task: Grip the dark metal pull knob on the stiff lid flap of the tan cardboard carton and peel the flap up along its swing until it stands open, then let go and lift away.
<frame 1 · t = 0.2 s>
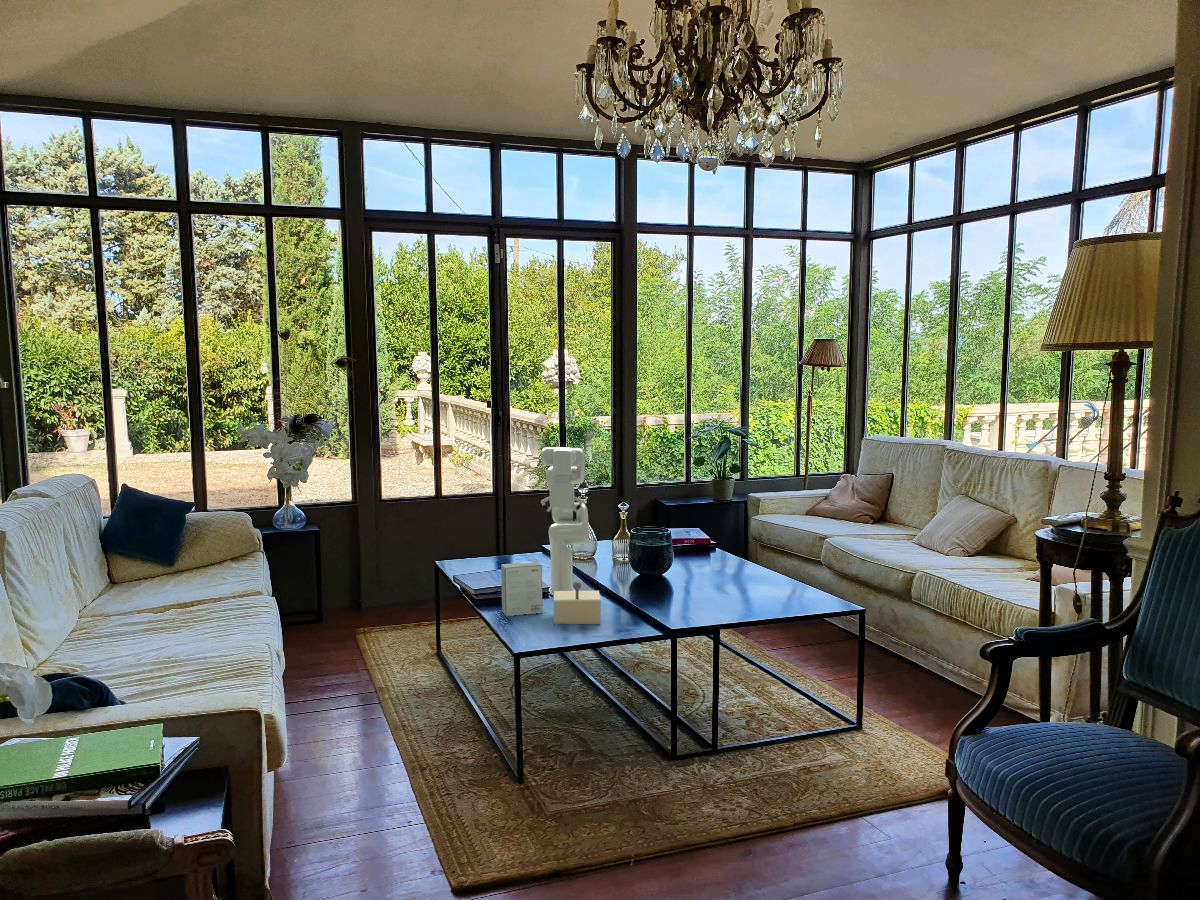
hand: (562, 521, 346), 37 cm above the table, tool pointing down, fingers open, 9 cm apart
carton flap: (576, 587, 332), point 13 cm above the table, hinge at 0.0°
hard drive box: (522, 613, 343), on the table
carton: (576, 619, 333), on the table
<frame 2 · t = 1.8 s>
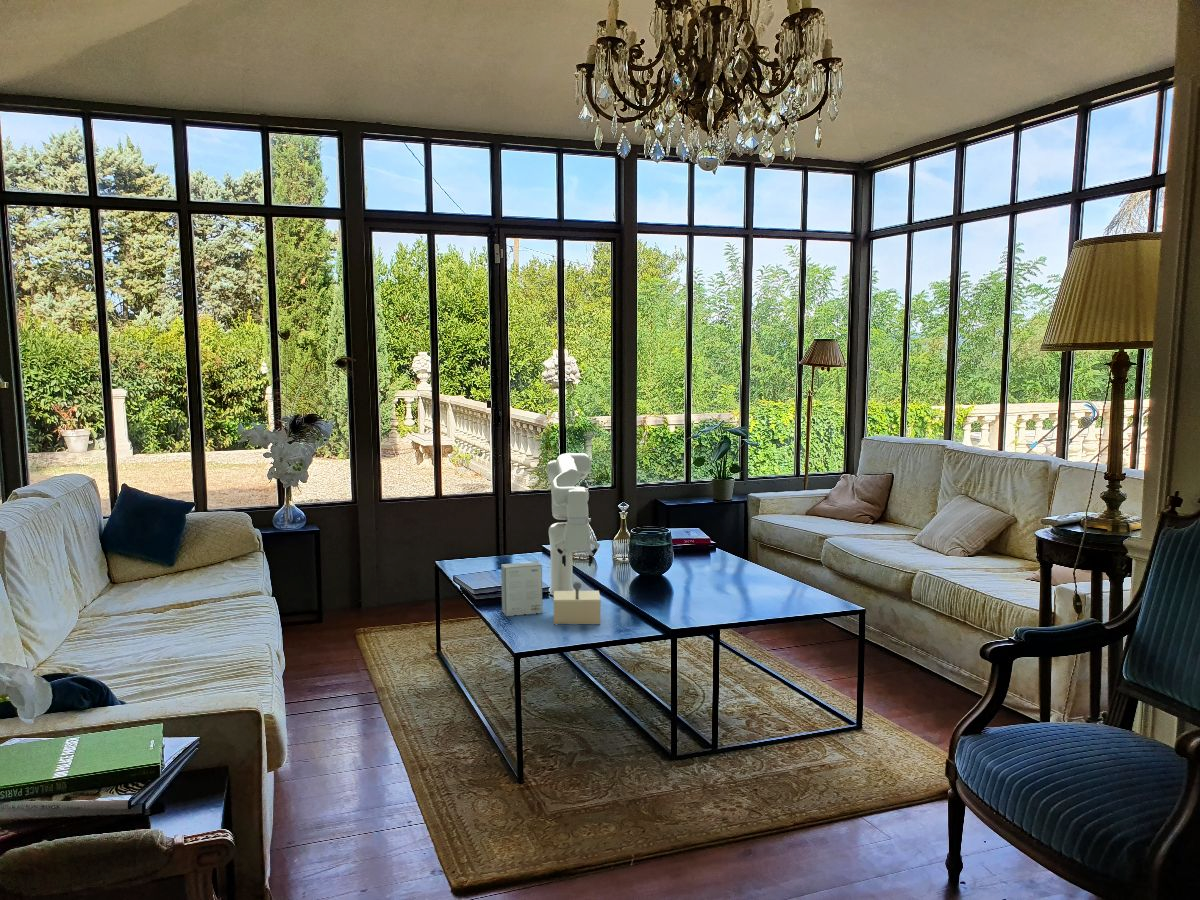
hand: (577, 565, 325), 23 cm above the table, tool pointing down, fingers open, 9 cm apart
nothing on the table moved.
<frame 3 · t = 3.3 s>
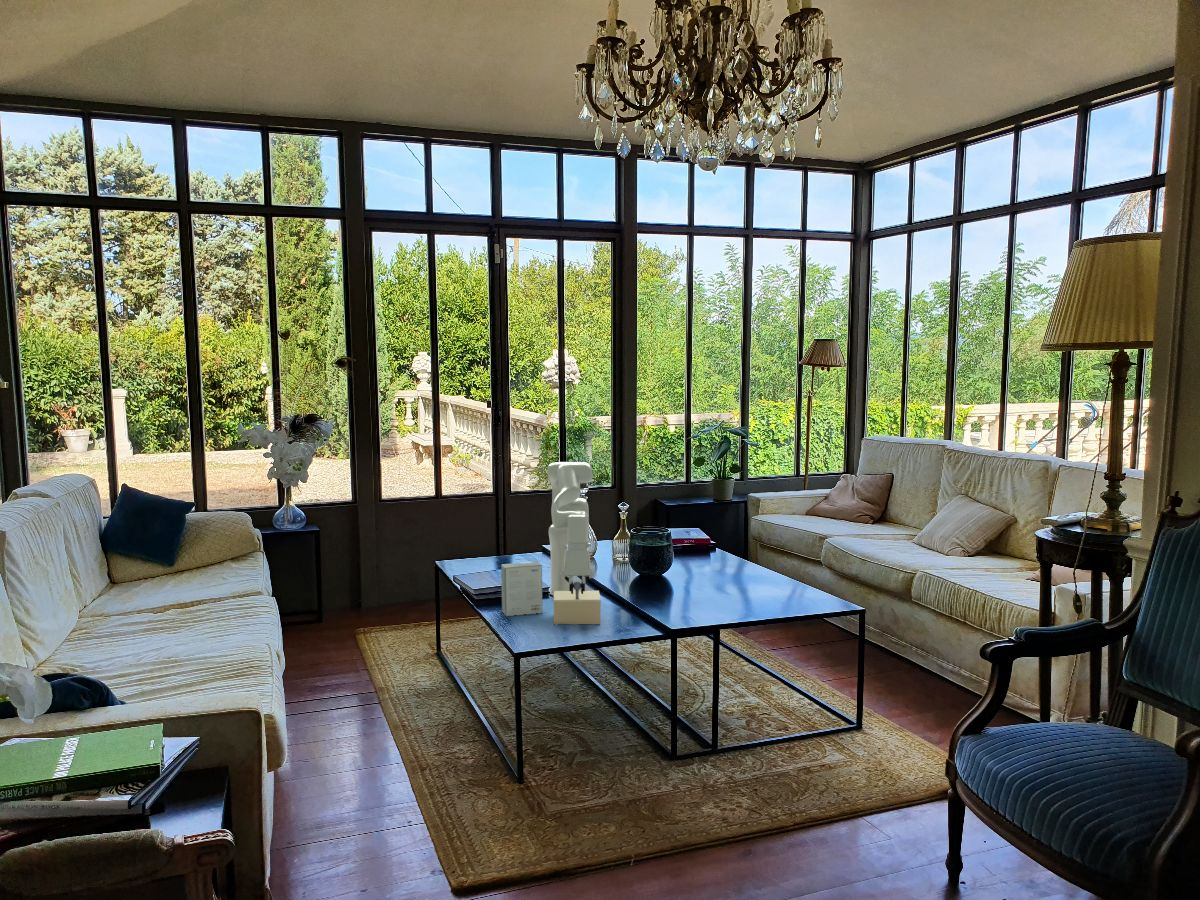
hand: (577, 592, 326), 12 cm above the table, tool pointing down, fingers closed on carton flap, 3 cm apart
carton flap: (576, 587, 332), point 13 cm above the table, hinge at 0.0°, touching gripper
everything else where it was.
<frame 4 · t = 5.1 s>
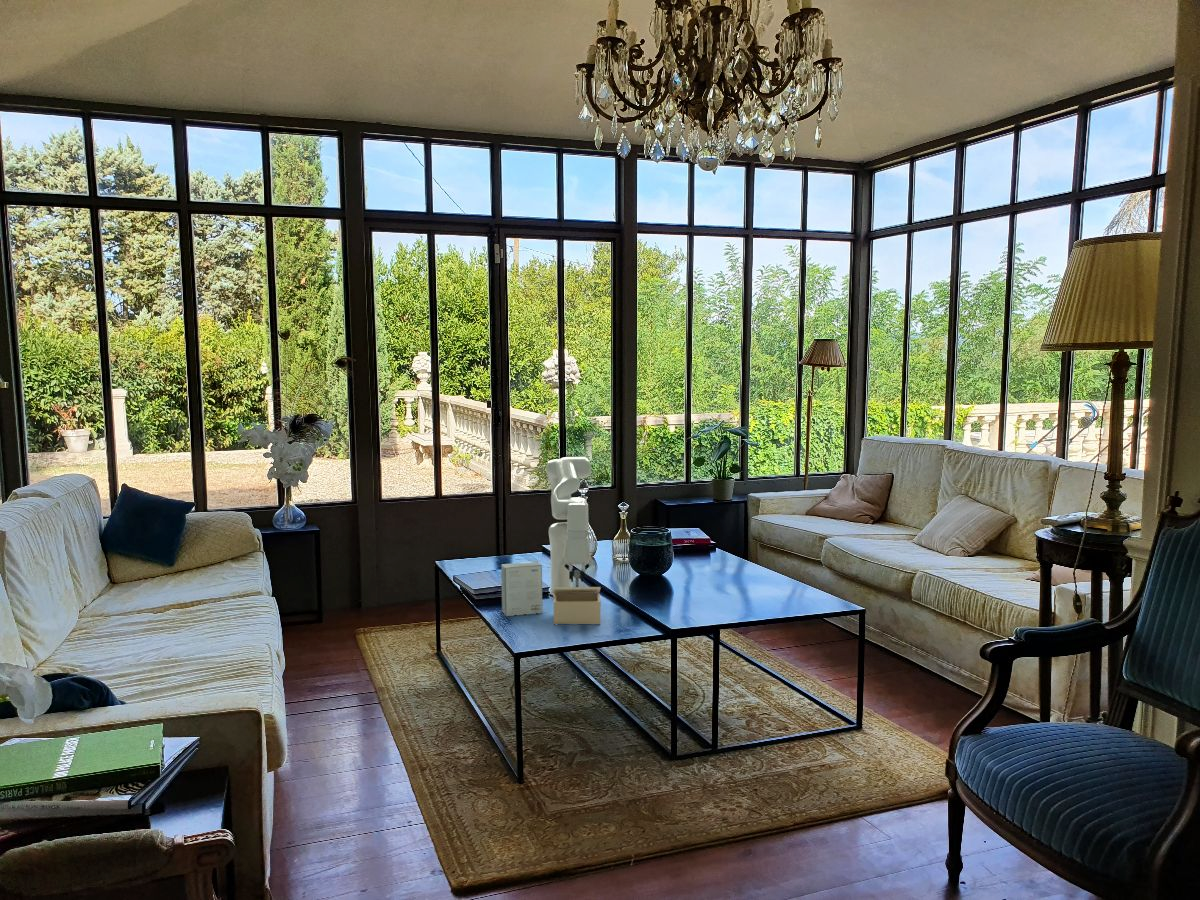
hand: (577, 580, 329), 16 cm above the table, tool pointing down, fingers closed on carton flap, 3 cm apart
carton flap: (576, 581, 333), point 15 cm above the table, hinge at 19.7°, touching gripper
everything else where it was.
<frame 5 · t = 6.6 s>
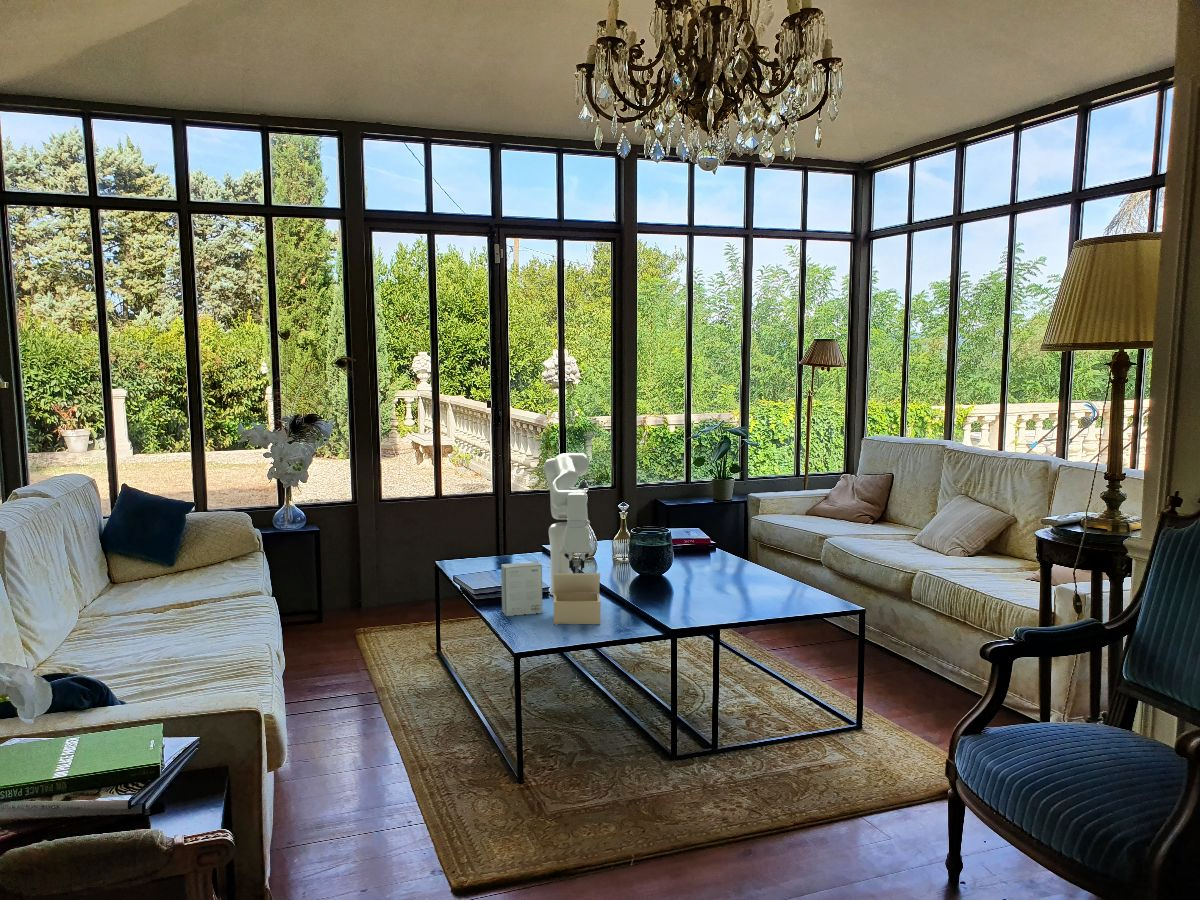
hand: (576, 569, 334), 19 cm above the table, tool pointing down, fingers closed on carton flap, 3 cm apart
carton flap: (576, 575, 336), point 17 cm above the table, hinge at 43.2°, touching gripper
everything else where it was.
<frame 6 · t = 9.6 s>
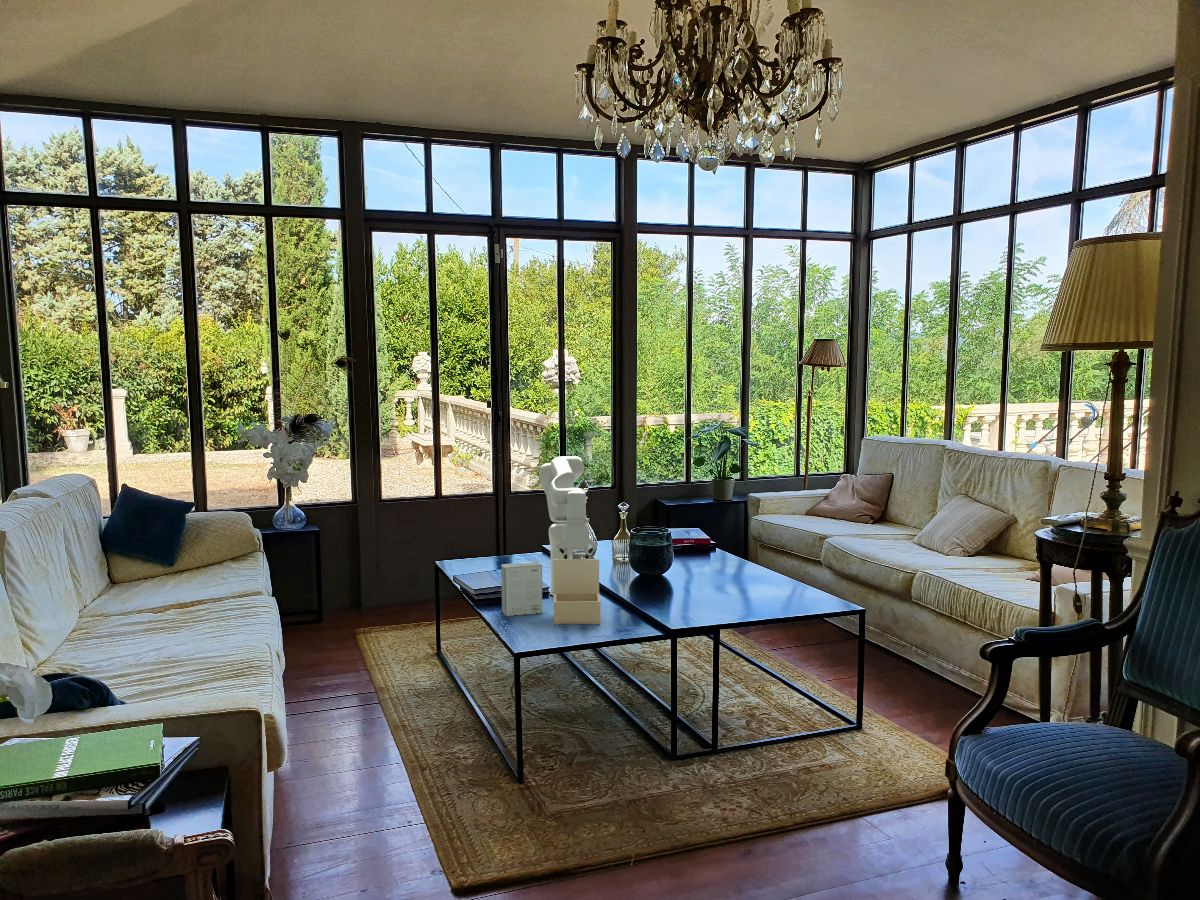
hand: (576, 564, 344), 19 cm above the table, tool pointing down, fingers open, 7 cm apart
carton flap: (576, 572, 341), point 16 cm above the table, hinge at 82.5°
everything else where it was.
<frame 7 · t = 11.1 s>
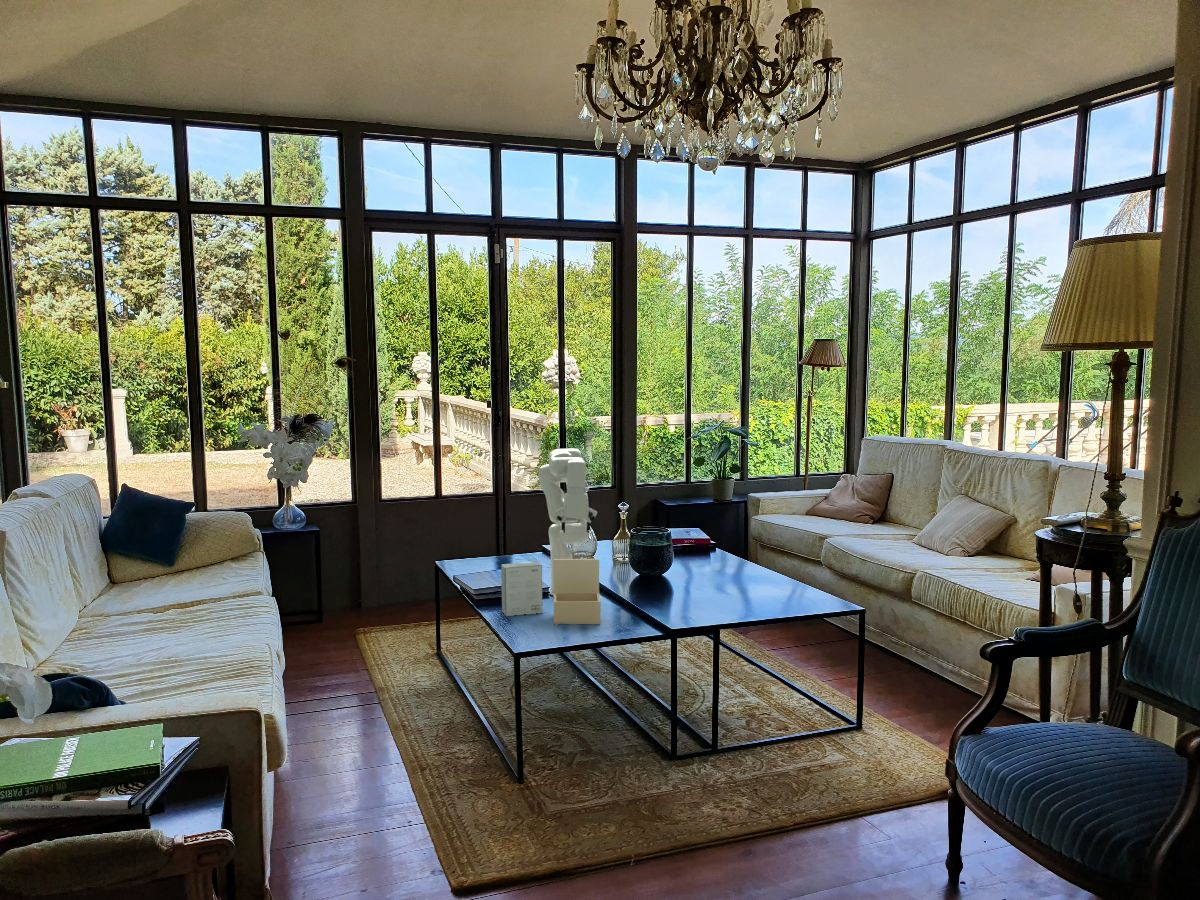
hand: (575, 531, 345), 32 cm above the table, tool pointing down, fingers open, 9 cm apart
nothing on the table moved.
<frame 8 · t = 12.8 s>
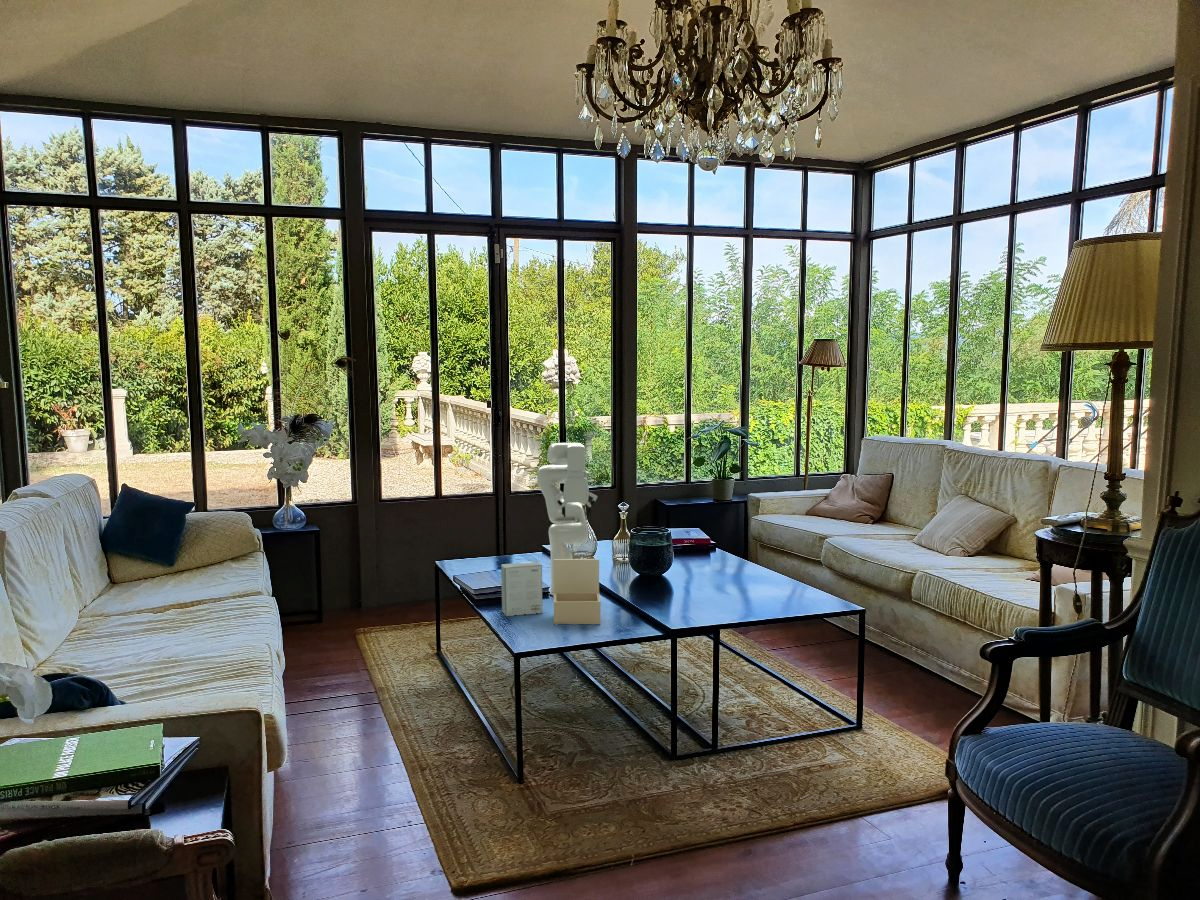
hand: (576, 516, 347), 38 cm above the table, tool pointing down, fingers open, 9 cm apart
nothing on the table moved.
at the end: carton flap at +82° (first picture: +0°); the gripper is holding nothing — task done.
